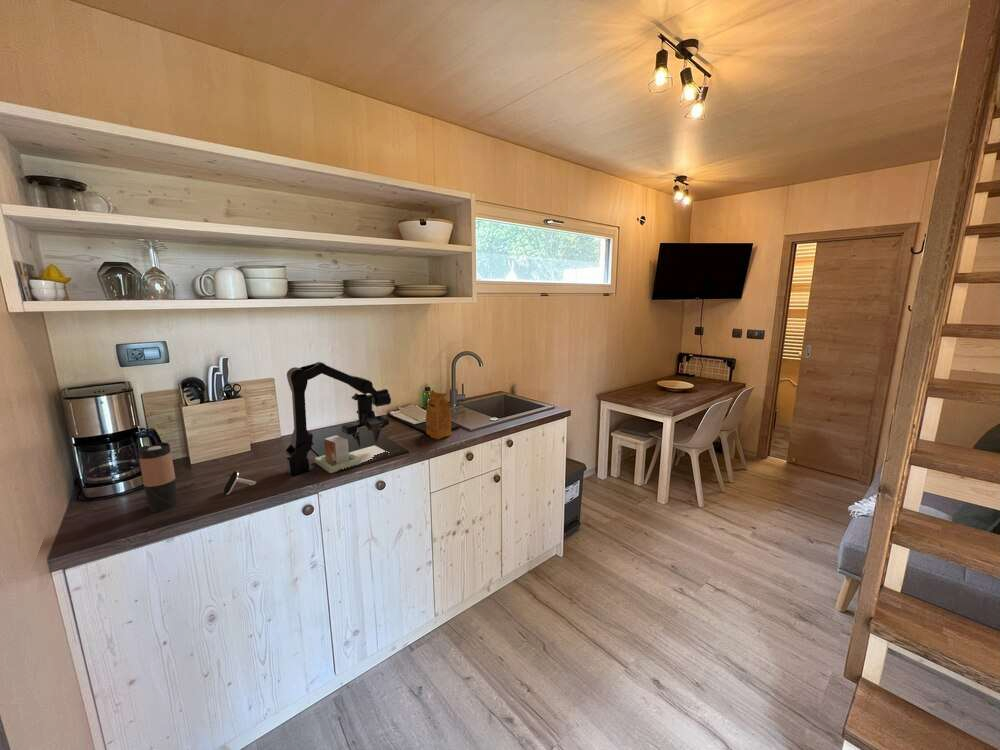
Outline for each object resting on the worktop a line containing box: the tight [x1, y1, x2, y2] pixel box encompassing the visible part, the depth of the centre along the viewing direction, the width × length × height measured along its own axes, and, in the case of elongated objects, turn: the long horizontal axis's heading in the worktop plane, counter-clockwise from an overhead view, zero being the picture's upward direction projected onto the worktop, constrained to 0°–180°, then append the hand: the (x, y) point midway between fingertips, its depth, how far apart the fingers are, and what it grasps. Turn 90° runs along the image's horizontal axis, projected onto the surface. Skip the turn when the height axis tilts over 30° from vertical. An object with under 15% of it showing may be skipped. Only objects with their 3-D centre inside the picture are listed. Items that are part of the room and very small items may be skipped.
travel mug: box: [137, 442, 179, 513], centre depth 125 cm, size 8×8×20 cm
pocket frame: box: [314, 453, 362, 474], centre depth 159 cm, size 12×14×2 cm
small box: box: [323, 434, 350, 465], centre depth 158 cm, size 8×6×10 cm
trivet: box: [349, 445, 390, 463], centre depth 168 cm, size 13×13×1 cm
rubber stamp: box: [223, 471, 257, 496], centre depth 137 cm, size 8×5×8 cm
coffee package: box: [425, 388, 452, 440], centre depth 190 cm, size 10×12×22 cm
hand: (367, 444), depth 167 cm, fingers open, 7 cm apart
